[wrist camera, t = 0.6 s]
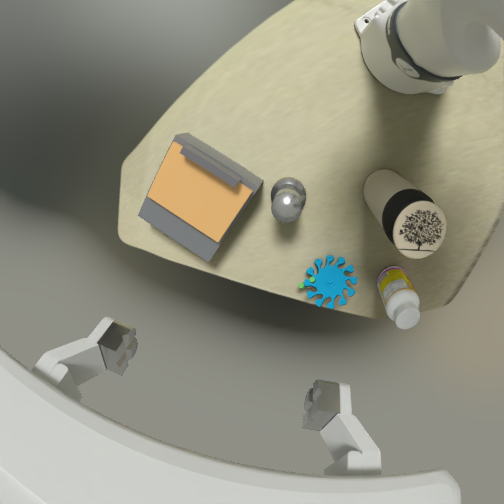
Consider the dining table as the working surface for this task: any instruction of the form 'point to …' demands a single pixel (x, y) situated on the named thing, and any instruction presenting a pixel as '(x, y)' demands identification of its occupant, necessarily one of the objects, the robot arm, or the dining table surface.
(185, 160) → the lid
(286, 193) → the silver rounded cylinder
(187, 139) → the housing
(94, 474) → the robot arm
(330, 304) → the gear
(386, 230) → the travel mug
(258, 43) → the dining table surface
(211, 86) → the dining table surface
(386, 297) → the supplement bottle
